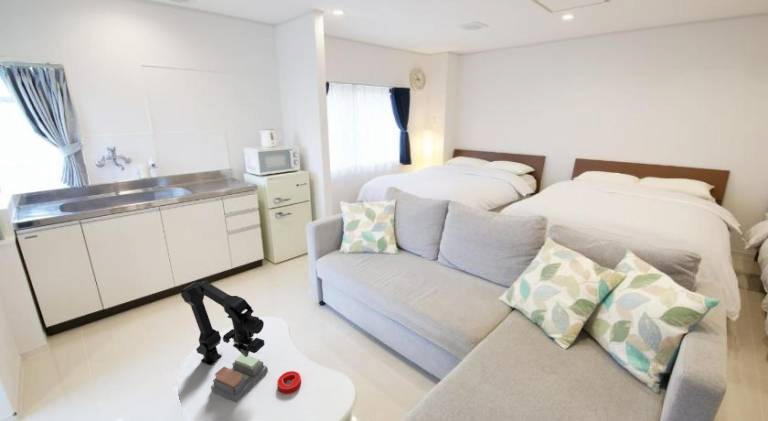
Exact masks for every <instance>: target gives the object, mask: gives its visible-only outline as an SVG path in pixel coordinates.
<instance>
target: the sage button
mask: <svg viewBox="0 0 768 421" xmlns="http://www.w3.org/2000/svg"><path fill="white" fill-rule="evenodd" d="M260 361H261V360H260V359H258V358H256V357H254V356H251V355H249V354H248V356H247V357H245V356H244V355H243V354H242V353H240V355H239V356H238V357H236V358H235V359H234V362H235V363H236V364H238V365H240V366H243V367H245V368H247V369H250V370H252V371H253V370H254V369H255V368H256V367H257V366H258V365H259V364H260Z"/></svg>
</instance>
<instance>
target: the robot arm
mask: <svg viewBox="0 0 768 421" xmlns="http://www.w3.org/2000/svg"><path fill="white" fill-rule="evenodd" d="M180 296H181V298H182V299H183V301H184V302H185V303H186V304H188V305H189V306H190V308H191V311H192V313H193V316H194V318H195V321H196V323H197V326H198V330H199V332H200V334H199V338H198V343H199V345H198V346H197V347H196V349H195V350H196V352H197V354H200V355H202V356H203V357H202V359H200V362H202V363H204V364H206V365H209V366H212V365H213V364H214V363H215V362H216V361H218V360H219V359H220V358H222V354H220V353H219V351H218V348H217V346H218V345H219V344H221V341H222V340H223V342H224V343H226V344H229V343H230V342H231V339H232V340H233V341H232V342H233V344H232V346H233V348H235V349H236V350H237V351H239V352H240V354H243V355H244V356H245V357H247V356H248V355H249V352H250V353H252V354H255V353H258V352H259V351H260V350H261V349H262V348H264V346H265V344H266V343H265V340H264V339H262V338H260V337H256V338H254V335H255V334H257V335H258V334H260V333H261V332H262V330H263V328H264V321H263V319H260V318H259V316H254V315H252V314H253V313H254V309H252V308H253V307H252V306H251V305H250V304H249V303H248V302H247V300H246V299H245V298H242V297H241V296H238V295H230V294H228V293H226V292H225V291H223V290H222V289H220V288H219V287H216V286H215V285H213V284H212V283H211V282H210V281H209V280H204V281H200V282H198V281H195V282H193V283H191V284H190V285H188V286H186V287H184V288H183V289H182V290H181V291H180ZM205 297H207V298H208V299H210V300H212V301H213V302H215V303H216V304H217V305H220V306H221V307H223V310H224V312H225V313H226V314H227V318H228V319H231V322H232V329H230V330H229V331H227V332H226V333H224V335H223V336H221V334H220V331H219V330H216V329H214V328H213V326H212V324H211V323H212V322H211V320H210V318H209V315H208V312H207V309H206V305H205V304H204V299H205Z"/></svg>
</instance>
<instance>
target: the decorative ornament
mask: <svg viewBox="0 0 768 421" xmlns="http://www.w3.org/2000/svg"><path fill="white" fill-rule="evenodd" d="M290 381H291V384H288V385H287V384H286V383H287V382H290ZM276 385H277V389H278V391H279V393H280V394H283V395H291V394H293V393H294V394H295V392H297V391H298V390H299V389H300V388H301V385H302V377H301V374H300V373H299V372H297V371H295V370H290V371H286V372H284V373H283V374H280V376H279V377H278V379H277V384H276Z"/></svg>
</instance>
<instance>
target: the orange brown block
mask: <svg viewBox="0 0 768 421" xmlns="http://www.w3.org/2000/svg"><path fill="white" fill-rule="evenodd" d="M214 375H215V378H216V380H217V381H219V382H221V383H223V384H226V385H228V386H230V387H232V388H235V387H236V386H237V385H238V384H239V383H240V382H241V381H242V375H241V373H238V372H236V371H233V370H231V368H228V367H226V366H223V367H221V368H220V369H219V370H218V371H217V372H215V373H214Z"/></svg>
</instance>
